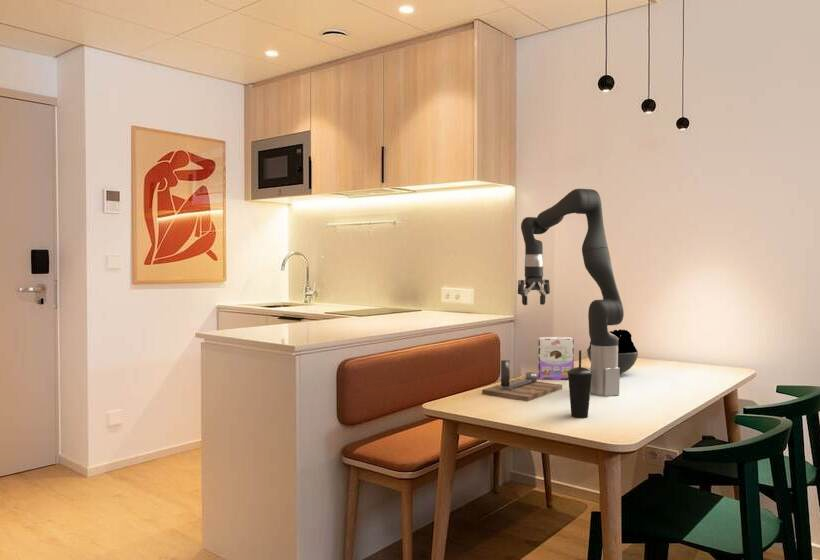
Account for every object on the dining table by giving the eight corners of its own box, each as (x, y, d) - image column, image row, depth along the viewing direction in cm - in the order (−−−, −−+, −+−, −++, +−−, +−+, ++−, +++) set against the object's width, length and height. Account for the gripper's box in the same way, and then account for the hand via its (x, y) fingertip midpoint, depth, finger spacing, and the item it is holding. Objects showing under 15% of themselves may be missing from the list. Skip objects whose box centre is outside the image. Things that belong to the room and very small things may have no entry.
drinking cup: (588, 413, 198) (588, 348, 197) (596, 419, 190) (596, 352, 190) (563, 413, 198) (564, 348, 197) (570, 419, 190) (571, 352, 189)
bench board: (518, 382, 246) (518, 378, 246) (562, 388, 234) (562, 384, 234) (482, 394, 225) (482, 389, 225) (527, 401, 214) (527, 396, 214)
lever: (529, 379, 242) (529, 353, 241) (538, 380, 239) (538, 354, 239) (498, 389, 224) (498, 360, 224) (508, 390, 222) (508, 361, 221)
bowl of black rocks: (642, 379, 252) (642, 332, 251) (589, 378, 255) (590, 331, 255) (632, 370, 272) (633, 326, 271) (584, 369, 275) (584, 325, 274)
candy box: (571, 377, 257) (571, 336, 256) (573, 380, 251) (574, 338, 250) (536, 376, 258) (536, 336, 258) (538, 379, 252) (538, 338, 252)
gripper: (524, 265, 258) (524, 305, 259) (553, 265, 264) (553, 304, 265) (514, 265, 265) (514, 304, 266) (542, 265, 271) (542, 303, 271)
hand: (533, 304), depth 265 cm, fingers open, 8 cm apart
